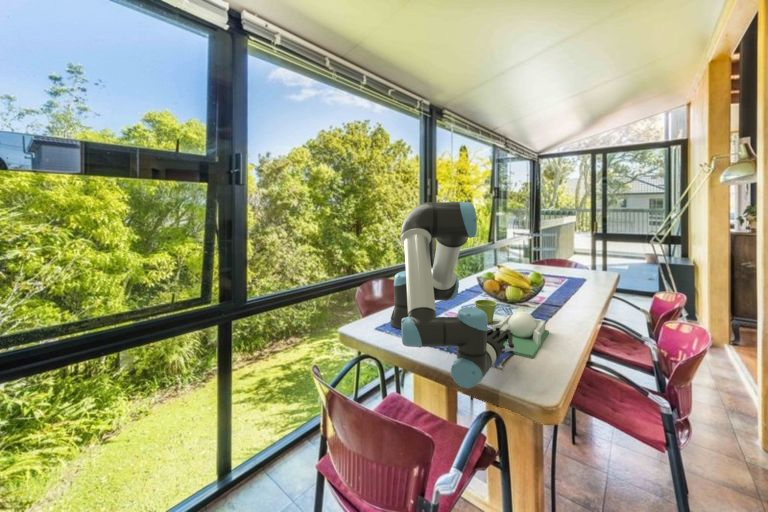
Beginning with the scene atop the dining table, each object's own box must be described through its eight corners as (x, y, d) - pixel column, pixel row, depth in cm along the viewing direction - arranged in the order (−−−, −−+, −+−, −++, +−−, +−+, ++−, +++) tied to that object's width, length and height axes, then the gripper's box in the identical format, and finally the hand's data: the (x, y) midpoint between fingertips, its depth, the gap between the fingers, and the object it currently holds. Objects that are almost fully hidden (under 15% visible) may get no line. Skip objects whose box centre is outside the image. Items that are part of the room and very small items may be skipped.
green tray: (482, 346, 124) (482, 333, 123) (504, 324, 146) (505, 313, 145) (533, 358, 114) (534, 344, 113) (549, 332, 136) (549, 320, 135)
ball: (512, 304, 135) (513, 322, 140) (503, 321, 129) (505, 339, 134) (538, 309, 129) (539, 328, 134) (531, 327, 123) (532, 346, 128)
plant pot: (497, 325, 145) (498, 306, 143) (474, 324, 147) (475, 305, 145) (495, 318, 154) (495, 300, 152) (473, 317, 156) (474, 299, 154)
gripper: (462, 359, 102) (488, 334, 121) (506, 372, 95) (527, 342, 114) (462, 336, 101) (489, 313, 120) (507, 346, 93) (528, 320, 112)
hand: (507, 327), depth 117 cm, fingers closed
